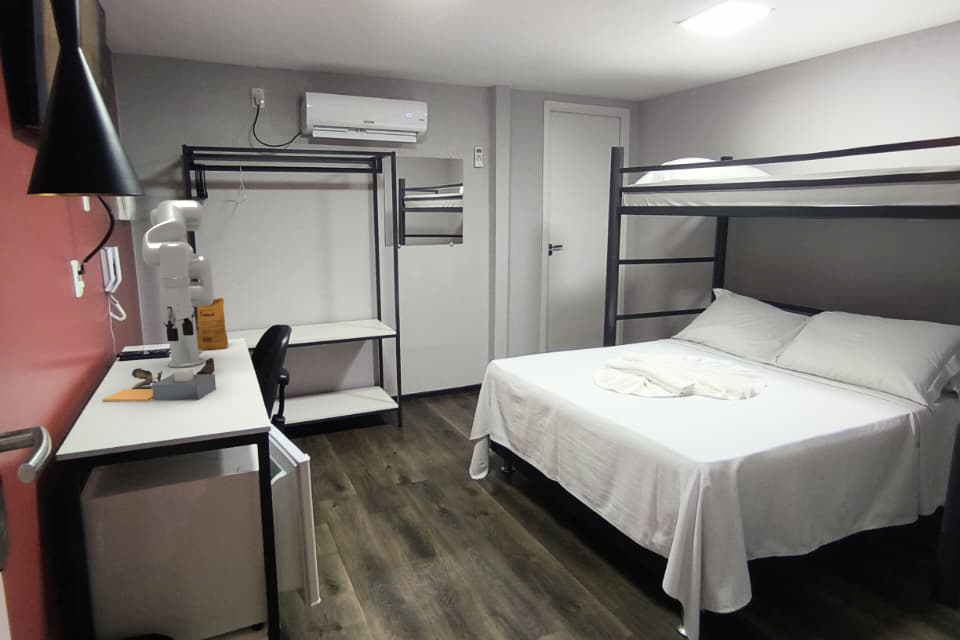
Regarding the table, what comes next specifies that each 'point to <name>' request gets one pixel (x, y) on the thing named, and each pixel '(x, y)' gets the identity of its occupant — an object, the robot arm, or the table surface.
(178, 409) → the table surface
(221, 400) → the table surface
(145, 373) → the eagle figurine
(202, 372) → the hand tool
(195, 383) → the breaker box
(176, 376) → the button
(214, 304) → the coffee package
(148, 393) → the pad
